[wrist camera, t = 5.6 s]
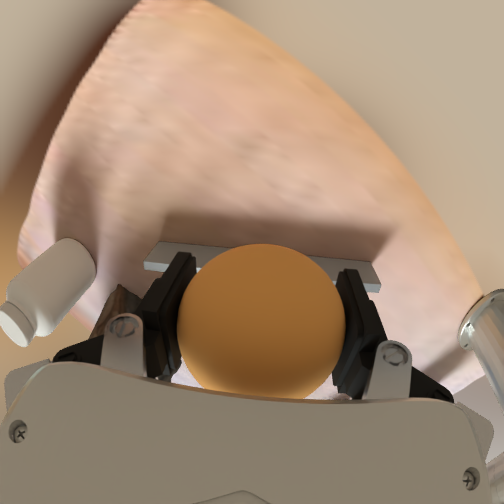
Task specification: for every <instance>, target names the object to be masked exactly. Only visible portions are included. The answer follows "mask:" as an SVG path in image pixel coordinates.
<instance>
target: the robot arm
mask: <svg viewBox="0 0 504 504" xmlns="http://www.w3.org/2000/svg"><path fill="white" fill-rule="evenodd" d="M196 274H197V268H196V257H195V256H192V253H190V252H180V251H178V252H177V254H176V255H175V257H174V258H173V260H172V261H171V263H170V265H169V266H168V268H167V269H166V271H165V272H164V274H163V276H162V277H161V279H160V278H157V279H156V280H155V281H154V282H153V284H152V285H151V287H150V288H149V290H148V292H147V293H146V295H145V296H144V298H143V299H142V301H141V303H140V304H139V306H138V307H137V309H136V311H135V312H134V314H131V313H124V314H119V315H116V316H114V317H113V318H111V319H110V320H109V321H108V322H107V324H106V327H105V333H104V334H102V335H100V336H97V337H94V338H91V339H89V340H86V341H83V342H80V343H78V344H75V345H72V346H69V347H67V348H64V349H62V350H60V351H59V352H58V353H57V354H56V355H55V356H54V358H53V361H50V360H49V359H46V360H43V361H40V362H37V363H34V364H31V365H28V366H24V367H21V368H18V369H15V370H13V371H11V372H10V373H9V374H8V375H7V376H6V378H5V383H4V384H5V398H6V407H7V414H6V415H5V417H4V419H3V421H2V423H1V425H0V504H504V452H503V453H502V454H500V455H499V456H497V457H496V458H494V459H493V460H491V461H490V462H489V463H487V464H486V463H485V459H486V456H487V454H488V451H489V448H490V445H491V442H492V439H493V435H494V429H493V426H492V424H491V422H490V421H488V420H487V419H486V418H484V417H482V416H481V415H479V414H478V413H476V412H474V411H472V410H471V409H469V408H468V407H466V406H465V405H463V404H461V403H460V402H457V404H455V403H454V399H453V396H452V394H451V393H450V391H449V390H448V389H446V388H445V387H444V386H442V385H440V384H439V383H437V382H436V381H434V380H433V379H431V378H430V377H428V376H427V375H425V374H424V373H422V372H420V371H419V370H417V369H416V368H414V367H413V366H412V355H411V353H410V351H409V349H408V348H407V347H406V346H405V345H403V344H402V343H399V342H397V341H392V340H388V339H387V336H386V334H385V331H384V328H383V325H382V322H381V320H380V317H379V314H378V312H377V309H376V306H375V304H374V302H373V301H372V300H369V298H368V295H367V292H366V290H365V287H364V285H363V282H362V279H361V277H360V274H359V272H358V270H357V269H347V268H345V269H344V270H343V271H340V272H339V274H338V277H337V281H336V285H335V287H336V289H337V291H338V293H339V295H340V298H341V300H342V304H343V307H344V312H345V321H346V331H345V341H344V345H343V349H342V352H341V355H340V358H339V360H338V362H337V364H336V366H335V368H334V369H333V371H332V379H333V385H334V386H337V389H338V393H346V394H347V395H349V396H350V399H349V400H314V399H292V398H276V397H264V396H254V395H245V394H237V393H229V392H222V391H215V390H209V389H203V388H197V387H191V386H186V385H180V384H175V383H171V382H166V381H161V380H158V376H160V375H163V374H164V375H169V376H170V375H171V373H172V370H173V369H177V367H178V365H179V362H180V359H181V356H182V355H181V351H180V348H179V344H178V339H177V317H178V310H179V306H180V303H181V300H182V297H183V294H184V292H185V290H186V288H187V287H188V285H189V283H190V282H191V280H192V279H193V277H194V276H195V275H196ZM458 342H459V344H460V346H461V347H462V348H463V349H465V350H473V351H474V353H475V355H476V357H477V358H478V360H479V362H480V364H481V366H482V368H483V370H484V372H485V374H486V376H487V378H488V380H489V383H490V385H491V387H492V389H493V391H494V394H495V396H496V398H497V401H498V403H499V405H500V408H501V410H502V412H503V415H504V289H498V290H496V291H493V292H491V293H489V294H488V295H486V296H485V297H483V298H482V299H481V300H480V301H479V302H478V303H477V304H476V305H475V306H474V307H473V308H472V309H471V310H470V311H469V313H468V314H467V315H466V317H465V319H464V320H463V322H462V324H461V326H460V329H459V332H458Z"/></svg>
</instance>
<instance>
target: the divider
mask: <svg viewBox="0 0 504 504" xmlns="http://www.w3.org/2000/svg"><path fill="white" fill-rule="evenodd" d="M230 249H233V248H224V247H214V246H203V245H193V244H183V243H172V242H162V241H159V242H158V243H157V244H156V246H155V247H154V248H153V250H152V251H151V252H150V253H149V255H148V256H147V257H146V258H145V260H144V261H143V262H144V269H145V270H151V271H159V272H165V271H166V269H167V268H168V266H169V265H170V263H171V261H172V260H173V258H174V257H175V255H176V254H177V252H178V251H180V252H190V253H192V256H195V257H196V268H197V272H198V271H199V270H200V269H201V268H202V267H203V266H204V265H206V264H207V263H208V262H209V261H210V260H212V259H213V258H215V257H216V256H218V255H220V254H222V253H224V252H226V251H228V250H230ZM305 256H306V255H305ZM307 257H308V258H310V259H311V260H312V261H314V262H315V263H316V264H317V265H319V266H320V267H321V268H322V269H323V270H324V271H325V272H326V273H327V275H328V276H329V278H330V279H331V281H332V282H333V284H334V285H336V281H337V277H338V274H339V272H340V271H343V270H344V269H345V268H347V269H357V270H358V272H359V274H360V277H361V279H362V282H363V285H364V287H365V290H366V292H375V293H379V290H380V288H381V283H380V280H379V278H378V276H377V274H376V272H375V270H374V268H373V266H372V264H371V262H367V261H357V260H347V259H337V258H326V257H316V256H307Z"/></svg>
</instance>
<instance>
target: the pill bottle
mask: <svg viewBox="0 0 504 504" xmlns="http://www.w3.org/2000/svg"><path fill="white" fill-rule="evenodd" d="M95 275H96V269H95V264H94V261H93V259H92V257H91V255H90V253H89V252H88V251H87V249H86V248H85V247H84V246H83V245H82V244H81V243H79V242H78V241H76V240H74V239H70V238H64V239H61V240H59V241H57V242H56V243H55V244H54V245H52V246H51V247H50V248H48V249H47V250H46V251H45V252H44V253H42V254H41V255H40V256H39V257H37V258H36V259H35V260H34V261H33V262H32V263H30V264H29V265H28V266H27V267H26V268H25V269H23V270H22V271H21V272H20V273H19V274H18V275H17V276H16V277H14V278H13V279H12V280H11V281H10V283H9V285H8V287H7V291H6V295H7V296H6V297H7V301H5V303H3V304H2V305H1V306H0V326H1V327H2V329H3V330H4V332H5V333H6V334H7V335H8V337H9V338H10V339H11V340H13V341H14V342H15V343H16V344H18V345H19V346H22V347H26V346H28V345H29V343H30V342H31V341H32V339H33V338H34V337H35V335H37V336H47V335H48V334H50V333H52V331H53V330H54V329H55V328H56V326H57V325H58V324H59V323H60V321H61V320H62V319H63V318H64V317H65V315H66V314H67V313H68V312H69V311H70V309H71V308H72V307H73V306H74V305H75V303H76V302H77V301H78V300H79V299H80V297H81V296H82V295H83V294H84V293H85V292H86V290H87V289H88V288H89V287H90V286H91V284H92V283H93V281H94V279H95Z"/></svg>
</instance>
